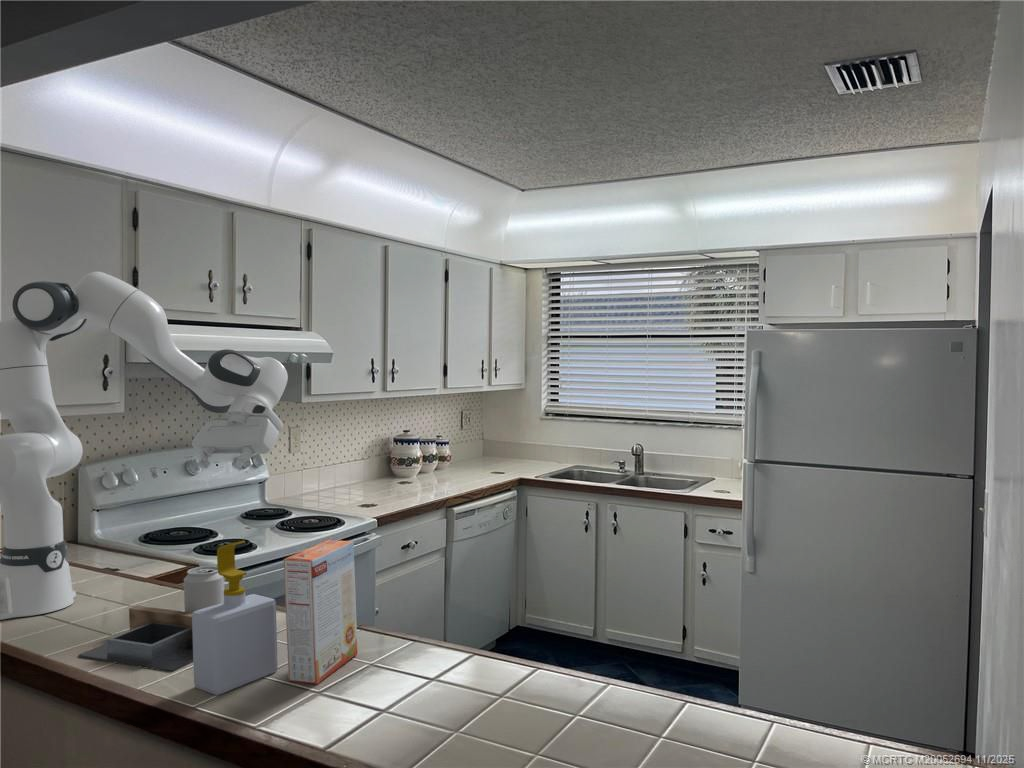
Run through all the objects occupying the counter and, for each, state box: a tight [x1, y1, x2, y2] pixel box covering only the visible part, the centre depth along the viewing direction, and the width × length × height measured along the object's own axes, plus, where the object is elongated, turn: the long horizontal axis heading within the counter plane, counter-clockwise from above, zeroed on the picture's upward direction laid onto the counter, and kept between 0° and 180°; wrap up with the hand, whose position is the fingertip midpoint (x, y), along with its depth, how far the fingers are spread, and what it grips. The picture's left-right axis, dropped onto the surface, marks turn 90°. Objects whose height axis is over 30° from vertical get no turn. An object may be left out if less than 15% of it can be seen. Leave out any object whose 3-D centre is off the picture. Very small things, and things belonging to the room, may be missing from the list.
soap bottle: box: [192, 540, 278, 696], centre depth 132 cm, size 12×7×23 cm, turn 145°
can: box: [183, 565, 225, 613], centre depth 158 cm, size 8×8×12 cm
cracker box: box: [283, 539, 358, 685], centre depth 136 cm, size 14×6×21 cm, turn 162°
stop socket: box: [78, 621, 193, 673], centre depth 145 cm, size 22×12×3 cm, turn 69°
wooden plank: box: [128, 605, 193, 631], centre depth 152 cm, size 24×2×5 cm, turn 69°
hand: (218, 466), depth 171 cm, fingers open, 8 cm apart
